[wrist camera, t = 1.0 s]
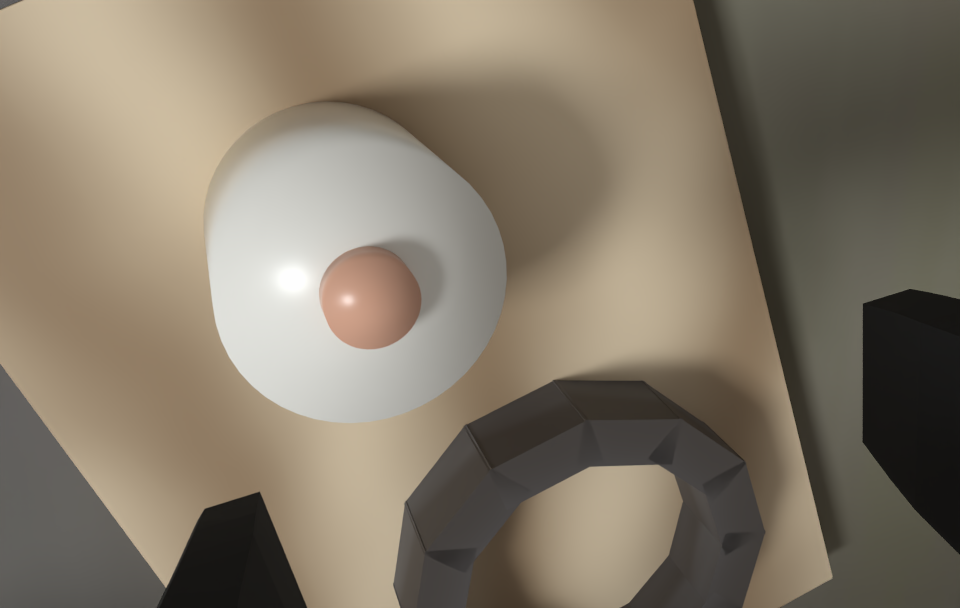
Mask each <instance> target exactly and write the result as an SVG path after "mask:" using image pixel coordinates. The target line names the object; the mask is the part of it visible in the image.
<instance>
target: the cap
mask: <svg viewBox="0 0 960 608" xmlns="http://www.w3.org/2000/svg"><path fill="white" fill-rule="evenodd" d="M203 221H204V238H205V246H206V255H207V263H208V271H209V279H210V288H211V296H212V304H213V310H214V317H215V323H216V326H217V329H218V332H219V336H220V339H221V341H222V344H223V346H224V348H225V350H226V352H227V354H228V356H229V358H230V359H231V361H232V362H233V364H234V365H235V366H236V368H237V369H238V371H239V372H240V373H241V375H242V376H243V377H244V378H245V379H246V380H247V381H248V382H249V383H250V384H251V385H252V386H253V387H254V388H255V389H256V390H258V391H259V392H260V393H261V394H262V395H264V396H265V397H266V398H268V399H270V400H271V401H273V402H274V403H276V404H278V405H279V406H281V407H283V408H285V409H288V410H290V411H292V412H294V413H296V414H299V415H303V416H306V417H309V418H313V419H317V420H322V421H328V422H337V423H361V422H371V421H377V420H382V419H387V418H391V417H394V416H397V415H400V414H404V413H406V412H409V411H411V410H413V409H415V408H418V407H420V406H422V405H424V404H426V403H427V402H429V401H431V400H433V399H434V398H436V397H438V396H439V395H440V394H442V393H443V392H444V391H446V390H447V389H449V388H450V387H451V386H452V385H454V384H455V383H456V382H457V381H458V380H459V379H460V378H461V377H462V376H463V375H464V374H465V373H466V372H467V371H468V370H469V369H470V368H471V366H472V365H473V364H474V363H475V362H476V361H477V359H478V358H479V356H480V355H481V353H482V352H483V350H484V349H485V347H486V346H487V344H488V342H489V340H490V338H491V336H492V334H493V333H494V331H495V328H496V325H497V323H498V320H499V317H500V315H501V311H502V307H503V303H504V298H505V291H506V282H507V270H506V257H505V251H504V245H503V242H502V238H501V235H500V232H499V228H498V226H497V224H496V222H495V220H494V218H493V215H492V213H491V212H490V210H489V208H488V207H487V205H486V204H485V202H484V201H483V199H482V198H481V196H480V195H479V194H478V193H477V192H476V191H475V190H474V188H473V187H472V186H471V185H470V184H469V183H468V182H467V181H466V180H464V179H463V178H462V177H461V176H460V175H459V174H457V173H456V172H455V171H454V170H453V169H452V168H450V167H449V166H448V165H447V164H446V163H445V162H443V161H442V160H441V159H440V158H439V157H438V156H436V155H435V154H434V153H433V152H432V151H430V150H429V149H428V148H427V147H426V146H425V145H423V144H422V143H421V142H420V141H419V140H418V139H416V138H415V137H414V136H413V135H412V134H410V133H409V132H408V131H407V130H406V129H405V128H403V127H402V126H401V125H400V124H398V123H396V122H395V121H393V120H392V119H390V118H389V117H387V116H385V115H383V114H381V113H379V112H377V111H374V110H372V109H369V108H366V107H362V106H359V105H355V104H349V103H344V102H326V101H325V102H314V103H306V104H302V105H297V106H293V107H290V108H287V109H284V110H282V111H279V112H276V113H274V114H272V115H270V116H269V117H267V118H265V119H263V120H261V121H260V122H258V123H257V124H255V125H254V126H253V127H251V128H250V129H248V130H247V131H246V132H245V133H244V134H243V135H242V136H241V137H240V138H239V139H238V140H236V141H235V143H234V144H233V145H232V146H231V147H230V149H229V150H228V151H227V152H226V154H225V155H224V157H223V158H222V160H221V162H220V163H219V165H218V167H217V168H216V170H215V173H214V175H213V177H212V180H211V182H210V184H209V188H208V192H207V195H206V199H205V207H204V215H203Z"/></svg>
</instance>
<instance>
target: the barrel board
mask: <svg viewBox="0 0 960 608" xmlns="http://www.w3.org/2000/svg"><path fill="white" fill-rule="evenodd" d="M325 101H326V102H344V103H349V104H355V105H359V106H362V107H366V108H369V109H372V110H374V111H377V112H379V113H381V114H383V115H385V116H387V117H389V118H390V119H392V120H393V121H395V122H396V123H398V124H400V125H401V126H402V127H403V128H405V129H406V130H407V131H408V132H409V133H410V134H412V135H413V136H414V137H415V138H416V139H418V140H419V141H420V142H421V143H422V144H423V145H425V146H426V147H427V148H428V149H429V150H430V151H432V152H433V153H434V154H435V155H436V156H438V157H439V158H440V159H441V160H442V161H443V162H445V163H446V164H447V165H448V166H449V167H450V168H452V169H453V170H454V171H455V172H456V173H457V174H459V175H460V176H461V177H462V178H463V179H464V180H466V181H467V182H468V183H469V184H470V185H471V186H472V187H473V188H474V190H475V191H476V192H477V193H478V194H479V195H480V196H481V198H482V199H483V201H484V202H485V204H486V205H487V207H488V208H489V210H490V212H491V213H492V215H493V218H494V220H495V222H496V224H497V226H498V228H499V232H500V235H501V238H502V242H503V245H504V251H505V257H506V270H507V282H506V291H505V298H504V303H503V307H502V311H501V315H500V317H499V320H498V323H497V325H496V328H495V331H494V333H493V334H492V336H491V338H490V340H489V342H488V344H487V346H486V347H485V349H484V350H483V352H482V353H481V355H480V356H479V358H478V359H477V361H476V362H475V363H474V364H473V365H472V366H471V368H470V369H469V370H468V371H467V372H466V373H465V374H464V375H463V376H462V377H461V378H460V379H459V380H458V381H457V382H456V383H455V384H454V385H452V386H451V387H450V388H449V389H447V390H446V391H444V392H443V393H442V394H440V395H439V396H438V397H436V398H434V399H433V400H431V401H429V402H427V403H426V404H424V405H422V406H420V407H418V408H415V409H413V410H411V411H409V412H406V413H404V414H400V415H397V416H394V417H391V418H387V419H382V420H377V421H371V422H361V423H337V422H328V421H322V420H317V419H313V418H309V417H306V416H303V415H299V414H296V413H294V412H292V411H290V410H288V409H285V408H283V407H281V406H279V405H278V404H276V403H274V402H273V401H271V400H270V399H268V398H266V397H265V396H264V395H262V394H261V393H260V392H259V391H258V390H256V389H255V388H254V387H253V386H252V385H251V384H250V383H249V382H248V381H247V380H246V379H245V378H244V377H243V376H242V375H241V373H240V372H239V371H238V369H237V368H236V366H235V365H234V364H233V362H232V361H231V359H230V358H229V356H228V354H227V352H226V350H225V348H224V346H223V344H222V341H221V339H220V336H219V332H218V329H217V326H216V323H215V317H214V310H213V304H212V296H211V288H210V279H209V271H208V263H207V255H206V246H205V238H204V221H203V215H204V207H205V199H206V195H207V192H208V188H209V184H210V182H211V180H212V177H213V175H214V173H215V170H216V168H217V167H218V165H219V163H220V162H221V160H222V158H223V157H224V155H225V154H226V152H227V151H228V150H229V149H230V147H231V146H232V145H233V144H234V143H235V141H236V140H238V139H239V138H240V137H241V136H242V135H243V134H244V133H245V132H246V131H247V130H248V129H250V128H251V127H253V126H254V125H255V124H257V123H258V122H260V121H261V120H263V119H265V118H267V117H269V116H270V115H272V114H274V113H276V112H279V111H282V110H284V109H287V108H290V107H293V106H297V105H302V104H306V103H314V102H325ZM0 364H1V365H2V366H3V368H4V369H5V370H6V372H7V373H8V375H9V376H10V377H11V379H12V380H13V381H14V383H15V384H16V385H17V387H18V388H19V389H20V391H21V392H22V393H23V395H24V396H25V398H26V399H27V400H28V402H29V403H30V404H31V406H32V407H33V408H34V410H35V411H36V412H37V414H38V415H39V416H40V418H41V419H42V421H43V422H44V423H45V425H46V426H47V427H48V429H49V430H50V431H51V433H52V434H53V435H54V437H55V438H56V439H57V441H58V442H59V444H60V445H61V446H62V448H63V449H64V450H65V452H66V453H67V454H68V456H69V457H70V458H71V460H72V461H73V462H74V464H75V465H76V467H77V468H78V469H79V471H80V472H81V473H82V475H83V476H84V477H85V479H86V480H87V481H88V483H89V484H90V485H91V487H92V488H93V490H94V491H95V492H96V494H97V495H98V496H99V498H100V499H101V500H102V502H103V503H104V504H105V506H106V507H107V508H108V510H109V511H110V513H111V514H112V515H113V517H114V518H115V519H116V521H117V522H118V523H119V525H120V526H121V527H122V529H123V530H124V531H125V533H126V534H127V536H128V537H129V538H130V540H131V541H132V542H133V544H134V545H135V546H136V548H137V549H138V550H139V552H140V553H141V554H142V556H143V557H144V559H145V560H146V561H147V563H148V564H149V565H150V567H151V568H152V569H153V571H154V572H155V573H156V575H157V576H158V577H159V579H160V580H161V582H162V583H163V584H164V586H165V587H167V585H168V583H169V581H170V579H171V577H172V575H173V573H174V570H175V568H176V566H177V564H178V562H179V560H180V557H181V555H182V553H183V551H184V549H185V547H186V544H187V542H188V540H189V538H190V536H191V533H192V531H193V529H194V527H195V525H196V523H197V521H198V519H199V517H200V515H201V514H202V512H203V510H204V509H205V508H209V507H212V506H215V505H218V504H221V503H225V502H228V501H231V500H234V499H237V498H241V497H244V496H247V495H250V494H254V493H257V492H260V493H261V495H262V498H263V500H264V503H265V505H266V508H267V510H268V513H269V515H270V518H271V520H272V522H273V525H274V527H275V530H276V532H277V535H278V537H279V540H280V542H281V545H282V547H283V549H284V552H285V554H286V557H287V559H288V562H289V564H290V567H291V569H292V571H293V574H294V576H295V579H296V581H297V584H298V586H299V589H300V591H301V594H302V596H303V598H304V601H305V603H306V606H307V608H780V607H781V606H783V605H785V604H787V603H789V602H790V601H792V600H794V599H796V598H798V597H799V596H801V595H803V594H805V593H807V592H808V591H810V590H812V589H814V588H816V587H817V586H819V585H821V584H823V583H825V582H826V581H828V580H830V579H832V578H833V577H832V572H831V568H830V564H829V560H828V556H827V552H826V548H825V543H824V539H823V535H822V531H821V527H820V523H819V519H818V515H817V510H816V506H815V502H814V498H813V494H812V490H811V486H810V481H809V477H808V473H807V469H806V465H805V461H804V457H803V453H802V448H801V444H800V440H799V436H798V432H797V428H796V424H795V419H794V415H793V411H792V407H791V403H790V399H789V395H788V391H787V386H786V382H785V378H784V374H783V370H782V366H781V362H780V357H779V353H778V349H777V345H776V341H775V337H774V333H773V329H772V324H771V320H770V316H769V312H768V308H767V304H766V300H765V295H764V291H763V287H762V283H761V279H760V275H759V271H758V267H757V262H756V258H755V254H754V250H753V246H752V242H751V238H750V233H749V229H748V225H747V221H746V217H745V213H744V209H743V205H742V200H741V196H740V192H739V188H738V184H737V180H736V176H735V171H734V167H733V163H732V159H731V155H730V151H729V147H728V143H727V138H726V134H725V130H724V126H723V122H722V118H721V114H720V109H719V105H718V101H717V97H716V93H715V89H714V85H713V81H712V76H711V72H710V68H709V64H708V60H707V56H706V52H705V48H704V43H703V39H702V35H701V31H700V27H699V23H698V19H697V14H696V10H695V6H694V2H693V0H21V1H19V2H16V3H14V4H11V5H9V6H7V7H4V8H2V9H0Z"/></svg>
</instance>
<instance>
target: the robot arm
mask: <svg viewBox="0 0 960 608" xmlns="http://www.w3.org/2000/svg"><path fill="white" fill-rule="evenodd" d="M863 443H864V445H865V446H866V447H867V449H868V450H869V451H870V453H871V454H872V455H873V457H874V458H875V459H876V461H877V462H878V463H879V465H880V466H881V467H882V469H883V470H884V471H885V473H886V474H887V475H888V477H889V478H890V479H891V481H892V482H893V483H894V484H895V486H896V487H897V488H898V489H899V490H900V492H901V493H902V494H903V495H904V497H905V498H906V499H907V500H908V502H909V503H910V504H911V505H912V507H913V508H914V509H915V510H916V511H917V512H918V513H919V514H920V515H921V516H922V517H923V518H924V519H925V520H926V521H927V522H928V523H929V524H930V525H931V526H932V527H933V528H934V529H935V530H936V531H937V532H938V533H939V534H940V535H941V536H942V537H943V538H944V539H945V540H946V541H947V542H948V543H949V544H950V545H951V546H952V547H953V548H954V549H955V550H956V551H957V552H958V553H959V554H960V299H956V298H952V297H948V296H943V295H939V294H934V293H929V292H924V291H918V290H912V289H909V290H905V291H902V292H899V293H896V294H893V295H889V296H886V297H883V298H880V299H876V300H873V301H870V302H867V303H864V304H863ZM157 608H307V606H306V603H305V601H304V598H303V596H302V594H301V591H300V589H299V586H298V584H297V581H296V579H295V576H294V574H293V571H292V569H291V567H290V564H289V562H288V559H287V557H286V554H285V552H284V549H283V547H282V545H281V542H280V540H279V537H278V535H277V532H276V530H275V527H274V525H273V522H272V520H271V518H270V515H269V513H268V510H267V508H266V505H265V503H264V500H263V498H262V495H261V493H260V492H257V493H254V494H250V495H247V496H244V497H241V498H237V499H234V500H231V501H228V502H225V503H221V504H218V505H215V506H212V507H209V508H205V509H204V510H203V512H202V514H201V515H200V517H199V519H198V521H197V523H196V525H195V527H194V529H193V531H192V533H191V536H190V538H189V540H188V542H187V544H186V547H185V549H184V551H183V553H182V555H181V557H180V560H179V562H178V564H177V566H176V568H175V570H174V573H173V575H172V577H171V579H170V581H169V583H168V585H167V587H166V590H165V592H164V594H163V596H162V598H161V600H160V602H159V604H158V606H157Z"/></svg>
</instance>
